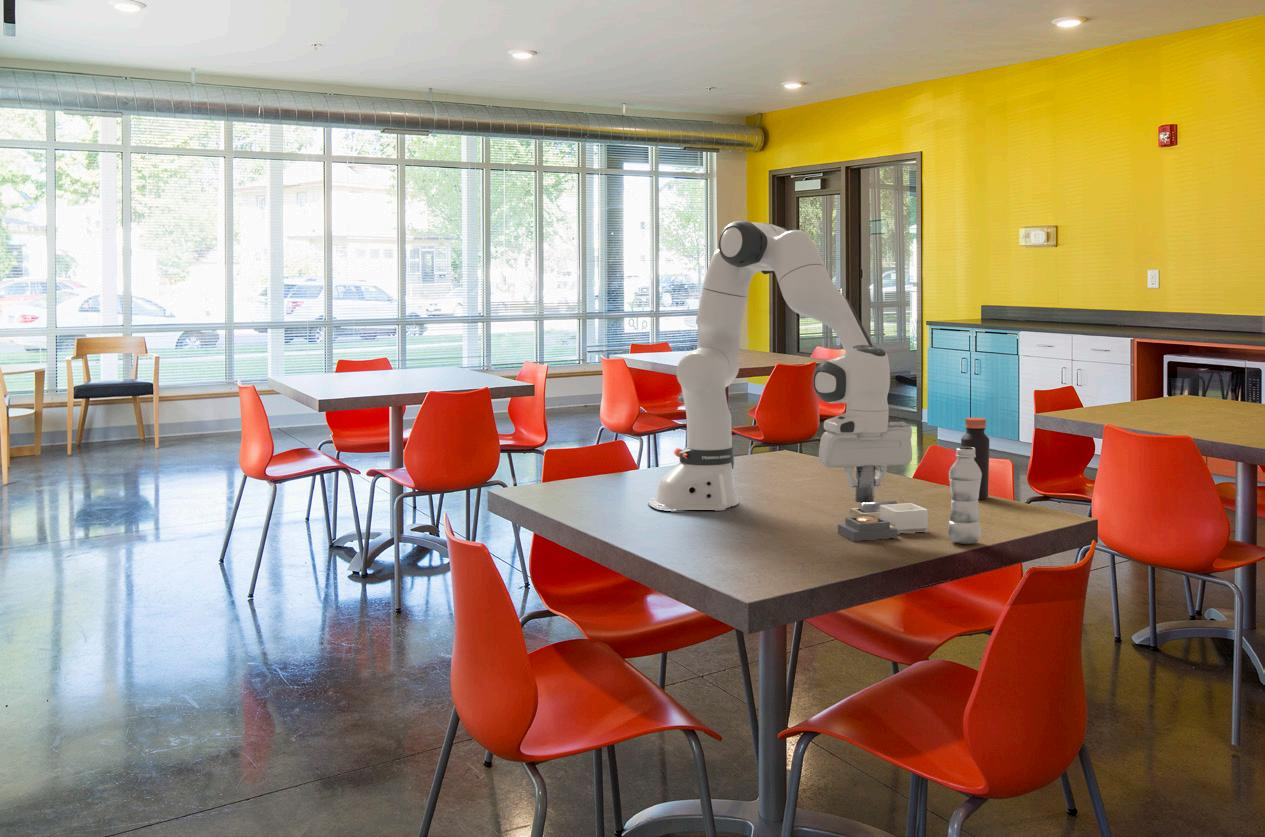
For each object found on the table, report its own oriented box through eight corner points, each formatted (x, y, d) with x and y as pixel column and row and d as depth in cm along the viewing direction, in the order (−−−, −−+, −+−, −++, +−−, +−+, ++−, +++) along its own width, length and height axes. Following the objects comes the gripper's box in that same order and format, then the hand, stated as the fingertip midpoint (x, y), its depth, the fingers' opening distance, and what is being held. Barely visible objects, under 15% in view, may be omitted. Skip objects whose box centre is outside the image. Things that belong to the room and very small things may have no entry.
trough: (861, 527, 236) (862, 513, 236) (850, 521, 242) (850, 508, 242) (907, 523, 239) (907, 510, 238) (894, 518, 245) (894, 505, 244)
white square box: (895, 534, 229) (895, 511, 228) (879, 527, 236) (879, 505, 235) (927, 532, 230) (927, 509, 230) (910, 524, 238) (911, 503, 237)
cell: (859, 503, 225) (861, 463, 224) (851, 499, 229) (853, 460, 227) (877, 502, 226) (878, 462, 224) (869, 498, 229) (870, 459, 228)
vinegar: (988, 495, 269) (990, 417, 266) (987, 500, 263) (989, 420, 260) (961, 494, 271) (962, 416, 269) (958, 499, 265) (960, 419, 263)
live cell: (865, 522, 237) (866, 504, 237) (858, 518, 241) (858, 501, 241) (901, 519, 239) (901, 502, 239) (892, 516, 243) (893, 499, 243)
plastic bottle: (987, 545, 218) (989, 449, 215) (958, 548, 216) (960, 451, 213) (969, 538, 224) (971, 445, 222) (940, 541, 222) (942, 446, 220)
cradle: (853, 541, 223) (853, 525, 223) (837, 533, 231) (838, 517, 230) (897, 538, 225) (897, 522, 225) (880, 530, 233) (880, 514, 233)
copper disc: (862, 525, 225) (862, 521, 225) (852, 521, 229) (852, 517, 229) (882, 524, 226) (882, 520, 226) (872, 519, 230) (872, 516, 230)
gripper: (905, 419, 230) (902, 481, 232) (816, 421, 226) (814, 485, 228) (918, 423, 224) (916, 487, 226) (828, 425, 220) (826, 491, 221)
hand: (864, 486), depth 227 cm, fingers closed on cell, 4 cm apart
